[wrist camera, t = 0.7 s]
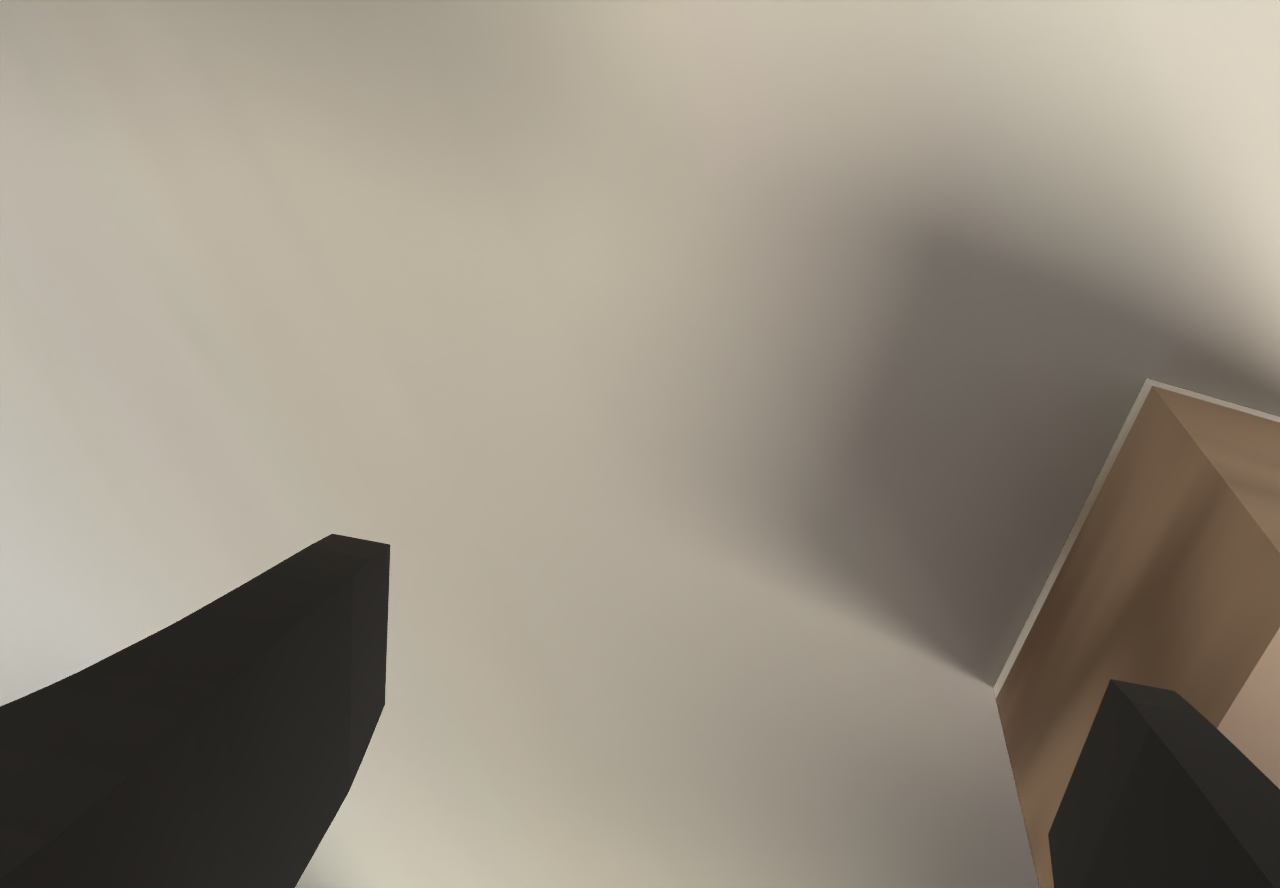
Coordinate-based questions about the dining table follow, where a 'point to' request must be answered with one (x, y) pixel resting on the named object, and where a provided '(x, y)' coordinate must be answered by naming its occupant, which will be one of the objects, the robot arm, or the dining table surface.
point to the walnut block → (1156, 596)
